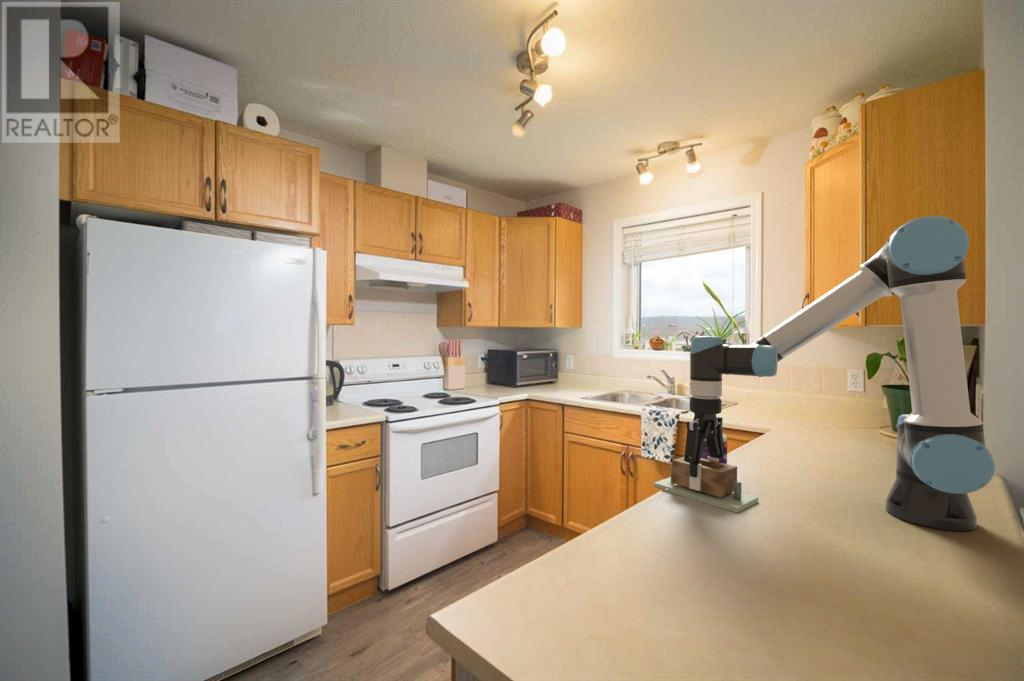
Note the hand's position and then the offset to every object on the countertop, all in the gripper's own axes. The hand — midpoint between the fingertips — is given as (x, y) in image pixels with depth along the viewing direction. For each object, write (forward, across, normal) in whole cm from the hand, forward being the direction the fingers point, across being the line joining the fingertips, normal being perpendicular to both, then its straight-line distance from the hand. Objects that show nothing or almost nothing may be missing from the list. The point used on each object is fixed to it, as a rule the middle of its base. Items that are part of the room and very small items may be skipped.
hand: (704, 485), depth 117 cm
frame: (0, 0, 0) cm, 0 cm away
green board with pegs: (+2, 0, 0) cm, 2 cm away
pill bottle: (+2, -18, -7) cm, 19 cm away
